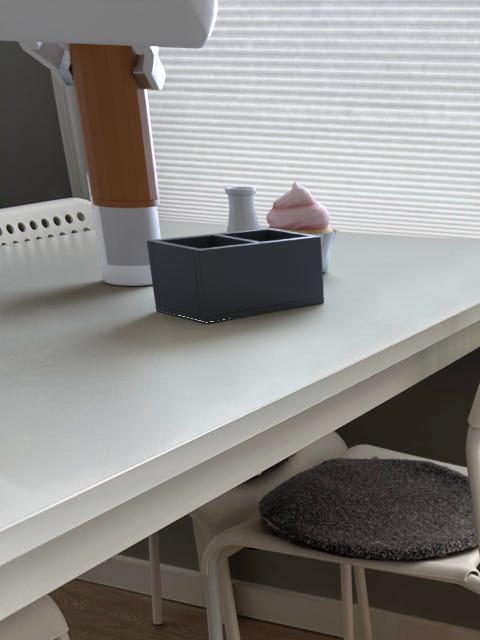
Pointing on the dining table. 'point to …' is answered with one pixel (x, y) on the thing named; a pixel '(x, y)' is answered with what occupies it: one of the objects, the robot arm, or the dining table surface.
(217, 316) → the holder
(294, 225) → the cupcake
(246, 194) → the flask
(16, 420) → the dining table surface
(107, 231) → the spray bottle
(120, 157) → the bottle
